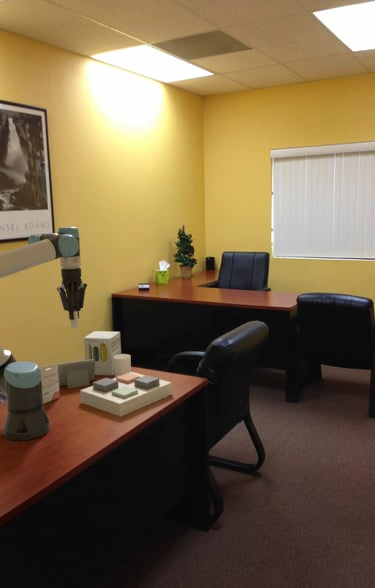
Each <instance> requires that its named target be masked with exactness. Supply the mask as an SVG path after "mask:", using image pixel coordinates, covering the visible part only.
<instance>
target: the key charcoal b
mask: <svg viewBox="0 0 375 588" xmlns="http://www.w3.org/2000/svg"><path fill="white" fill-rule="evenodd" d="M159 379H160V378H159V377H155V376H152V375H148V374H146V375H145V376H143V377H140V378H138V379H135V380H134V383H135V386H136V387H139V388H143V389H146V390H148V389H150V388H153V387H155V386H158V385H159Z"/></svg>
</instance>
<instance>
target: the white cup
mask: <svg viewBox="0 0 375 588" xmlns="http://www.w3.org/2000/svg"><path fill="white" fill-rule="evenodd" d="M131 361H132V360H131V355H130V354H127V353H121V354H118V355H115V356H113V365H114V372H115V374H114V378H116V377H118V376H121V375H124V374H127V373H131V372H132V371H131V369H132V364H131Z"/></svg>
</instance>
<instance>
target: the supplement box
mask: <svg viewBox="0 0 375 588" xmlns="http://www.w3.org/2000/svg"><path fill="white" fill-rule="evenodd" d="M83 343H84V358H85V359H84V360H90V359H93V360H95V375H96V376H115V372H114V365H113V356H115V355H118V354H122V346H121V345H122V343H121V331H108V330H107V331H102V330H100V331H98V330H97V331H95V330H94V331H93V332H91V333H89V334H87V335H86V336H84V337H83Z"/></svg>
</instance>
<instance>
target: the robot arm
mask: <svg viewBox="0 0 375 588" xmlns="http://www.w3.org/2000/svg"><path fill="white" fill-rule="evenodd" d="M80 244H81V243H80V233H79V228H78V227H77V226H62V227H58V231H57V232H53V233H35V234H30V235H29V236H28V239H27V244H26V245H24V246H20V247H17V248H14V249H11V250H7V251H3V252H1V253H0V279H2V278H5V277H9V276H11V275H14V274H17V273H20V272H23V271H26V270H28V269H31V268H34V267H37V266H40V265H43V264H45V263H48V262H51V261H55V260H57V259H59V260H60V263H59V264H60V267H61V268H60V272H61V273H60V276H61V279H62V280H61V281H62V282H61V285H60V286H58V287H56V290H57V292H58V294H59V296H60V297H59V298H60V301H61V304H62V308H63V310H64V311H66V312H68V319H69V320H70V327H71V329H77V328H78V329H79V319H80V311H81V310H82V309H83V308H84V305H85V304H84V303H85V296H86V295H85V294H86V289H87V286H88V283H85V282H83V280H82V268H81V265H82V263H81V262H82V261H81V247H80ZM40 368H41V367H40V366H39V365H38V364H37V363H35V362H32V361H26V360H25V361H24V360H20V361H17V360H16V358H15V357H14V355H13V353H12V352H11V351H10V350H9V349H4V348H3V347H2V346H1V345H0V394H1V395H3V396H5V398H6V407H7V408H6V409H7V414H6V418H5V423H4V426H3V435H4V437H5V438H6V439H7V440H11V441H30V440H34V439H37V438H39V437H42V436H45V435H46V434H47V433H49V431H50V429H51V424H50V423H51V422H50V420H49V417H48V415H47V413H46V411H45V408H44V404H43V397H42V383H41V372H40Z"/></svg>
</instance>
